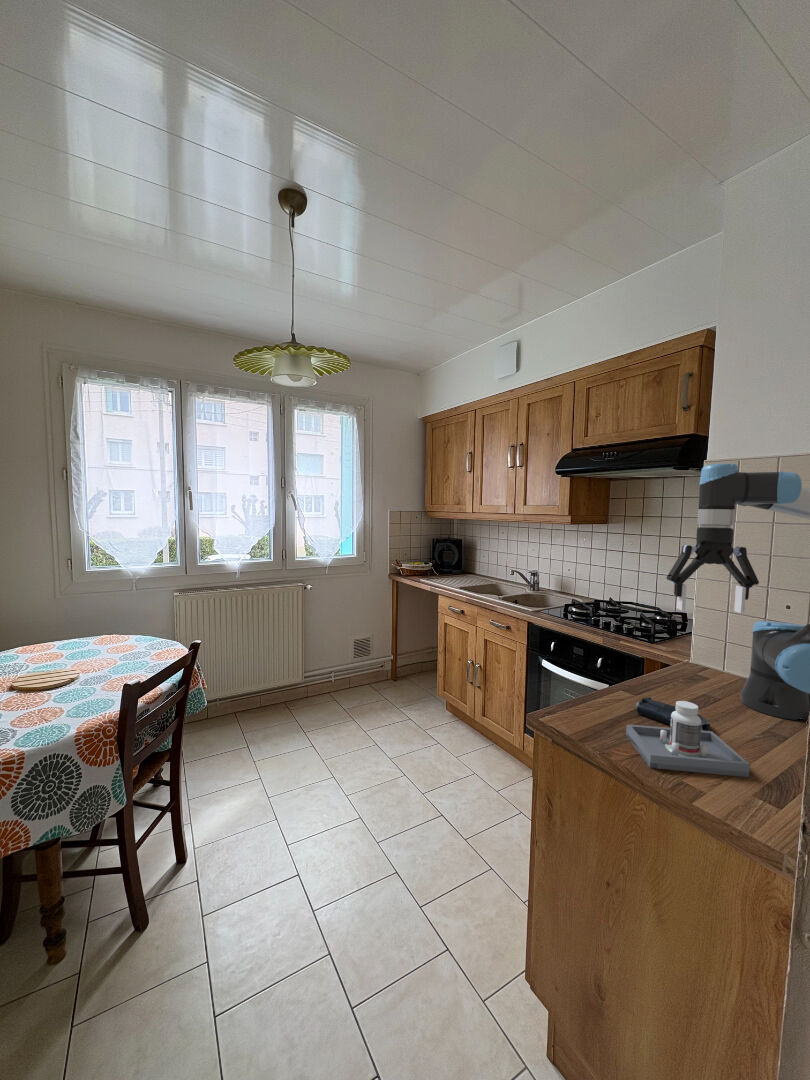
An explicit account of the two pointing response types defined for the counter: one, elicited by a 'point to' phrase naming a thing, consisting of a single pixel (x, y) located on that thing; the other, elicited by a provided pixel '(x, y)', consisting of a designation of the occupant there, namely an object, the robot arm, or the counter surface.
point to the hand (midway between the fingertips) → (709, 611)
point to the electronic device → (662, 712)
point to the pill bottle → (686, 728)
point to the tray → (709, 760)
